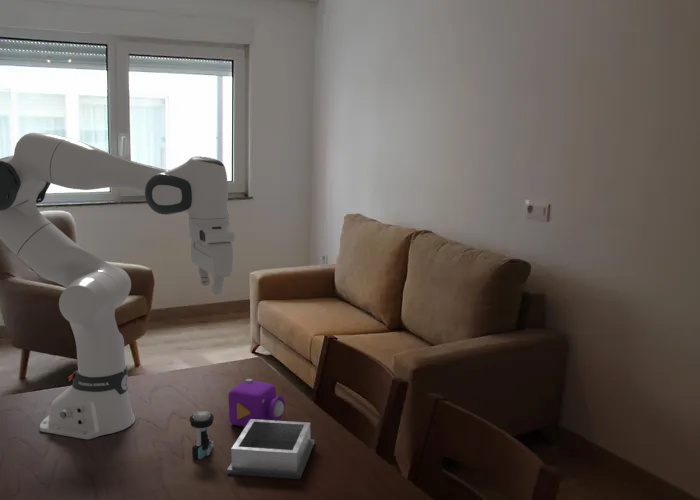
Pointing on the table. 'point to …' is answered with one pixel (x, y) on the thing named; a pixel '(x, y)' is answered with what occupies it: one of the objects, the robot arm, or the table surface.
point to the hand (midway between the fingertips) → (211, 289)
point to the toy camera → (254, 403)
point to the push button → (201, 433)
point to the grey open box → (272, 449)
